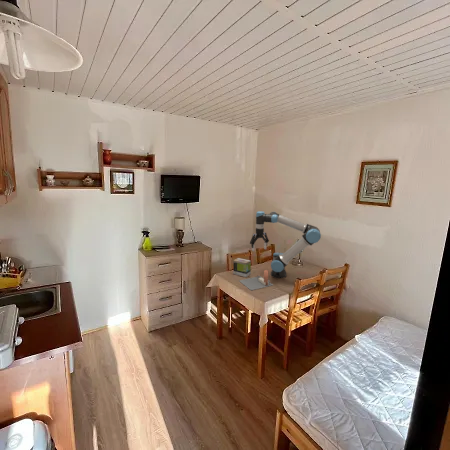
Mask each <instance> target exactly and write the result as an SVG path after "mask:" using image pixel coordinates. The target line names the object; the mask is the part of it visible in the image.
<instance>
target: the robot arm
mask: <svg viewBox="0 0 450 450" xmlns="http://www.w3.org/2000/svg"><path fill="white" fill-rule="evenodd" d="M255 214H256V216H255V233H252V235H251V239H250V242H249V244H250V245H251V251H252V252H255V243H256V241H257V240H258V239H262V240H263V241H264V243H263V249H264V250H267V246H268V243H269V242H270V239H269V238H268V235H267V232H265V229H264V228H265V223H272V224H277V223H278V224H281V225H284V226H286V227H289V228H291V229H294V230H296V231H299V232H301V233H302V235H301V238H300V239H299V240H297V241H296V242H295V243H294V244H293V245H292V246H291V247H290V248H288V249H287V250H286V251H284V252H274V253H273V255H272V257H273V259H272V261H271V262H270V268H271V271H270V276H271V277H272V278H275V279H284V278H286V277H287V272H286V267H287V266H288V265H289V262H290V261H291V260H293V258H295V257H296V256H298V255H299V254H300V253H301V252H303V250H305V249H306V248H307V247H308V246H309V247H312V246H313V245H314V244H316V243H318V242H319V241H320V240H321V236H322V234H321V231H320V228H318V227H317V226H315V225H312V224H309V223H303V222H301V221H298V220H295V219H293V218H290V217H286V216H285V215H282V214H279V213H277V212H276V211H271V212H270V213H265V211H256V213H255Z"/></svg>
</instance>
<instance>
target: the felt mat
mask: <svg viewBox="0 0 450 450" xmlns="http://www.w3.org/2000/svg"><path fill="white" fill-rule="evenodd" d="M258 276H259V278H263V277H262V276H260V275H258ZM238 282H240V283H241V284H242V285H243V286H245V288H247V289H248V290H250V291H251V292H252V291H256V290H259V289H264V288H268V287H272V286H274V284H273V283H271V282H270V283H269V285H264V284H262V283H261V282H259V281H258V280H257V276H255V277H250V278H249V277H248V278H245V279H240V280H238Z"/></svg>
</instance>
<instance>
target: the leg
mask: <svg viewBox="0 0 450 450" xmlns="http://www.w3.org/2000/svg"><path fill="white" fill-rule="evenodd" d="M263 278H264V279H263ZM268 280H269V269H264V270H263V277H262V278H258V281H259V282H261V283H262V284H264V285H269V282H268Z"/></svg>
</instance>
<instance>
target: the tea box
mask: <svg viewBox="0 0 450 450" xmlns="http://www.w3.org/2000/svg"><path fill="white" fill-rule="evenodd" d="M232 261H233V264H232V265H233V268H232V270H233V273H232V274H233V275H237V276H240V277H245V278H247V277H248V276H250V275H251V274H252V273H251V272H252V266H251V265H252V260H250V259H244V258H241V257H237V258H236V259H234V260H232Z"/></svg>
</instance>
